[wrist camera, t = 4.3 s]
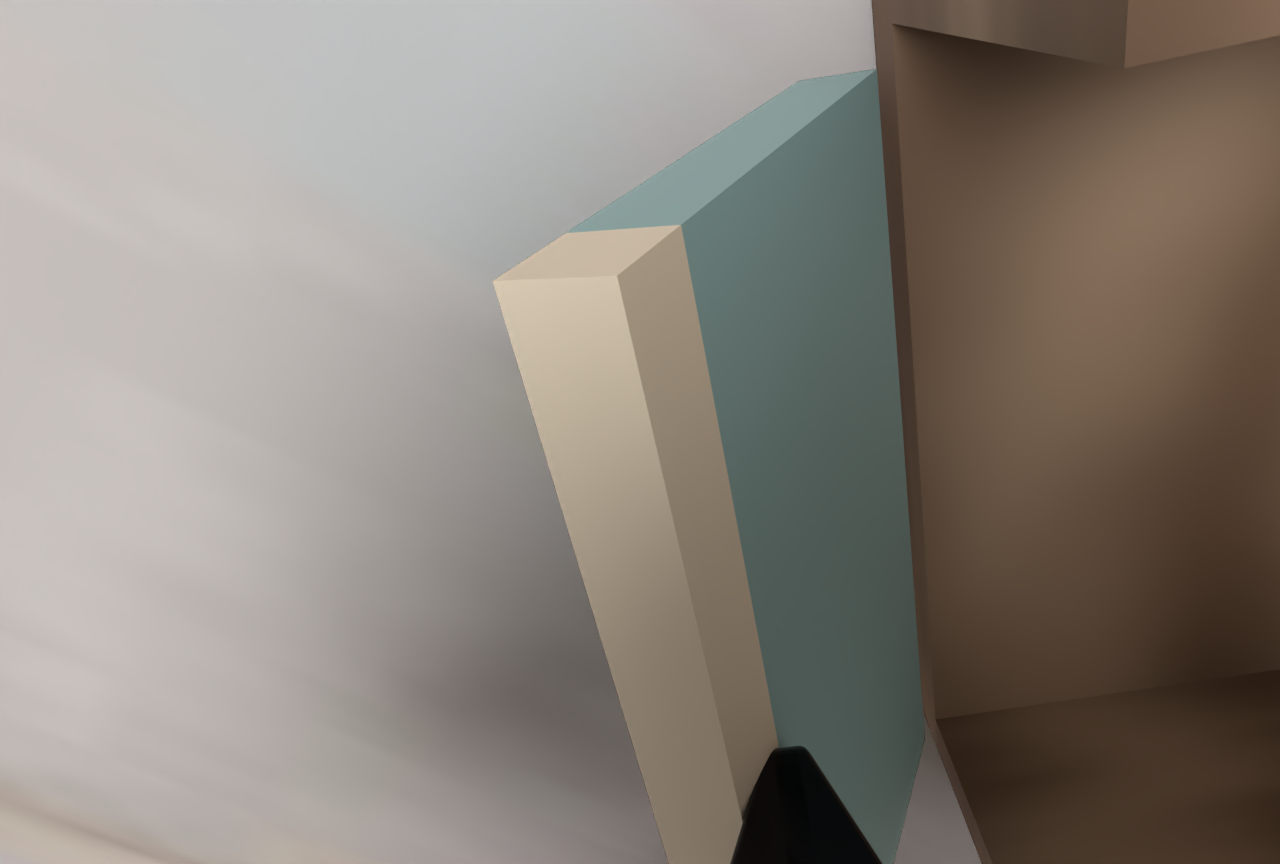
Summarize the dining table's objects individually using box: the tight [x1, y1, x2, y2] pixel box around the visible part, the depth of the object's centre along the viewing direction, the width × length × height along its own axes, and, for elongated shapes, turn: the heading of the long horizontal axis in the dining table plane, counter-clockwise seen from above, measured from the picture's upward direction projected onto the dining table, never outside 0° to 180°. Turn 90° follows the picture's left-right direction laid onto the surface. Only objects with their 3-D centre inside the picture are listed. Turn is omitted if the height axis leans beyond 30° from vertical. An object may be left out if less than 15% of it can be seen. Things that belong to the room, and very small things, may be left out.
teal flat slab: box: [493, 69, 925, 864], centre depth 11 cm, size 1×12×7 cm, turn 11°
